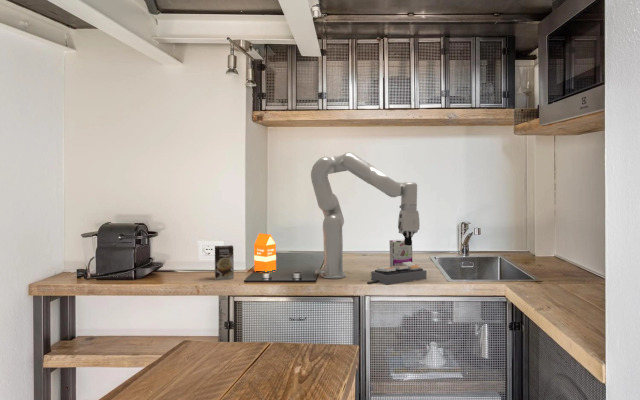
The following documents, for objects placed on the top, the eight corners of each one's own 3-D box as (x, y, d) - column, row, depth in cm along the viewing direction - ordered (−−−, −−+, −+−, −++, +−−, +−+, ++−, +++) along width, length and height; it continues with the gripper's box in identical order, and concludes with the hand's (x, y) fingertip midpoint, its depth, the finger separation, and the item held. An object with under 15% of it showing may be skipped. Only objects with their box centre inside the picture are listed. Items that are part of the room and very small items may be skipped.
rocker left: (387, 271, 207) (386, 268, 207) (377, 270, 214) (376, 267, 214) (395, 270, 209) (395, 267, 209) (385, 269, 216) (385, 266, 217)
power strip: (374, 286, 202) (374, 276, 201) (360, 281, 212) (359, 271, 212) (426, 278, 216) (426, 269, 216) (410, 274, 226) (410, 264, 226)
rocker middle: (399, 269, 211) (399, 266, 211) (389, 269, 218) (389, 266, 218) (408, 268, 213) (408, 265, 213) (398, 268, 220) (397, 265, 220)
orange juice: (266, 273, 233) (265, 235, 232) (254, 271, 238) (253, 234, 237) (276, 270, 239) (275, 233, 238) (264, 268, 244) (263, 232, 243)
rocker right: (412, 270, 214) (412, 268, 214) (402, 264, 221) (402, 262, 221) (420, 269, 217) (420, 267, 216) (409, 263, 223) (410, 261, 223)
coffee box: (215, 280, 218) (214, 247, 217) (214, 277, 224) (214, 245, 223) (234, 279, 220) (233, 246, 219) (233, 276, 227) (232, 244, 226)
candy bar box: (408, 269, 239) (408, 238, 238) (412, 271, 234) (412, 240, 233) (389, 270, 236) (389, 239, 235) (393, 272, 231) (393, 241, 230)
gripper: (401, 208, 210) (400, 247, 211) (425, 207, 217) (424, 245, 218) (391, 207, 217) (390, 244, 217) (415, 206, 223) (415, 243, 224)
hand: (407, 245), depth 218 cm, fingers closed
